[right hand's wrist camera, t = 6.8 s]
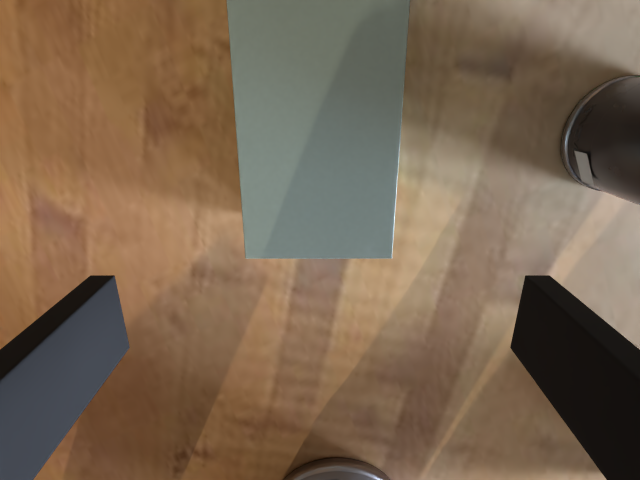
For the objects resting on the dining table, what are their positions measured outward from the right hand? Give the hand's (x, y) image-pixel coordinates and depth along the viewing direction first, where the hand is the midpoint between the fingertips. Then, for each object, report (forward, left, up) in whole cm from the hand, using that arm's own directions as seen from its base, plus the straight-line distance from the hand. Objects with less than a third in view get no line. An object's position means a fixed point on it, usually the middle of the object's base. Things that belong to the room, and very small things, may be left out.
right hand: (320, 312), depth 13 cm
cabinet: (+3, -5, -24) cm, 24 cm away
